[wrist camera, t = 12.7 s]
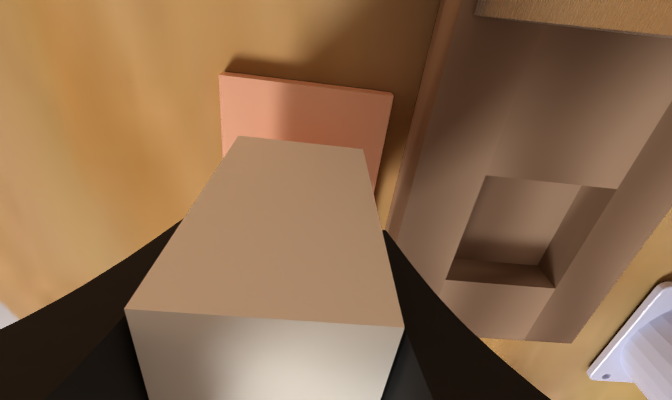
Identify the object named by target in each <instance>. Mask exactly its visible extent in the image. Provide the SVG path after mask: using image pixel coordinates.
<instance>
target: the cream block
mask: <svg viewBox="0 0 672 400" xmlns="http://www.w3.org/2000/svg"><path fill="white" fill-rule="evenodd" d="M124 310H125V314H126V318H127V321H128V325H129V329H130V332H131V336H132V340H133V343H134V347H135V350H136V354H137V358H138V361H139V365H140V369H141V372H142V376H143V379H144V383H145V387H146V390H147V394H148V398H149V400H381V397H382V394H383V391H384V388H385V385H386V382H387V379H388V376H389V373H390V370H391V367H392V364H393V361H394V358H395V355H396V352H397V349H398V346H399V343H400V340H401V337H402V334H403V331H404V328H405V327H404V322H403V318H402V314H401V310H400V305H399V301H398V297H397V292H396V288H395V284H394V280H393V275H392V271H391V267H390V262H389V258H388V254H387V250H386V245H385V241H384V237H383V232H382V228H381V224H380V220H379V215H378V211H377V207H376V202H375V198H374V194H373V190H372V185H371V181H370V177H369V172H368V168H367V164H366V160H365V155H364V151H363V149H358V148H349V147H340V146H331V145H321V144H312V143H303V142H294V141H285V140H276V139H266V138H257V137H248V136H238V137H237V139H236V140H235V142H234V143H233V145H232V146H231V148H230V149H229V151H228V152H227V154H226V155H225V157H224V158H223V160H222V161H221V163H220V164H219V166H218V167H217V169H216V170H215V172H214V173H213V175H212V176H211V178H210V179H209V181H208V182H207V184H206V185H205V187H204V189H203V190H202V192H201V193H200V195H199V196H198V198H197V199H196V201H195V202H194V204H193V205H192V207H191V208H190V210H189V211H188V213H187V214H186V216H185V217H184V219H183V220H182V222H181V223H180V225H179V226H178V228H177V229H176V231H175V232H174V234H173V235H172V237H171V238H170V240H169V241H168V243H167V245H166V246H165V248H164V249H163V251H162V252H161V254H160V255H159V257H158V258H157V260H156V261H155V263H154V264H153V266H152V267H151V269H150V270H149V272H148V273H147V275H146V276H145V278H144V279H143V281H142V282H141V284H140V285H139V287H138V288H137V290H136V291H135V293H134V294H133V296H132V298H131V299H130V301H129V302H128V304H127V305H126V307H125V308H124Z"/></svg>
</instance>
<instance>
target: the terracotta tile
mask: <svg viewBox="0 0 672 400" xmlns="http://www.w3.org/2000/svg"><path fill="white" fill-rule="evenodd" d="M219 89H220V110H221V130H222V151H223V158H224V157H225V155H226V154H227V152H228V151H229V149H230V148H231V146H232V145H233V143H234V142H235V140H236V139H237V137H238V136H248V137H257V138H266V139H276V140H285V141H294V142H303V143H312V144H321V145H331V146H340V147H349V148H358V149H363V151H364V155H365V160H366V164H367V168H368V172H369V177H370V181H371V185H372V190H373V194H374V189H375V184H376V180H377V175H378V170H379V165H380V160H381V156H382V151H383V146H384V141H385V136H386V131H387V127H388V122H389V117H390V112H391V107H392V102H393V98H394V96H393V94H392V93H391V92H385V91H377V90H369V89H361V88H353V87H345V86H337V85H329V84H321V83H313V82H304V81H296V80H288V79H280V78H272V77H264V76H256V75H248V74H240V73H232V72H222V73H221V74H219Z"/></svg>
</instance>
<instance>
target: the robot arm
mask: <svg viewBox="0 0 672 400" xmlns="http://www.w3.org/2000/svg"><path fill="white" fill-rule="evenodd" d="M182 220H183V219H182ZM182 220H181V221H179V222H178V223H176V224H175V225H174V226H172V227H171V228H169V229H168V230H167V231H165V232H164V233H162V234H161V235H160V236H158V237H157V238H155V239H154V240H152V241H151V242H150V243H148V244H147V245H145V246H144V247H142V248H141V249H139V250H138V251H137V252H135V253H134V254H132V255H131V256H129V257H128V258H126V259H125V260H123V261H121V262H120V263H118V264H117V265H115V266H113V267H112V268H110V269H109V270H107V271H106V272H104V273H102V274H101V275H99V276H98V277H96V278H94V279H93V280H91V281H90V282H88V283H86V284H85V285H83V286H81V287H80V288H78V289H76V290H75V291H73V292H71V293H69V294H67V295H66V296H64V297H62V298H60V299H59V300H57V301H55V302H53V303H51V304H49V305H47V306H45V307H44V308H42V309H40V310H38V311H36V312H34V313H32V314H30V315H29V316H27V317H25V318H23V319H21V320H19V321H17V322H15V323H13V324H11V325H9V326H6V327H4V328H2V329H0V400H149V398H148V394H147V390H146V387H145V383H144V379H143V376H142V372H141V369H140V365H139V361H138V358H137V354H136V350H135V347H134V343H133V340H132V336H131V332H130V329H129V325H128V321H127V318H126V314H125V310H124V308H125V307H126V305H127V304H128V302H129V301H130V299H131V298H132V296H133V294H134V293H135V291H136V290H137V288H138V287H139V285H140V284H141V282H142V281H143V279H144V278H145V276H146V275H147V273H148V272H149V270H150V269H151V267H152V266H153V264H154V263H155V261H156V260H157V258H158V257H159V255H160V254H161V252H162V251H163V249H164V248H165V246H166V245H167V243H168V241H169V240H170V238H171V237H172V235H173V234H174V232H175V231H176V229H177V228H178V226H179V225H180V223H181V222H182ZM382 232H383V237H384V241H385V245H386V250H387V254H388V258H389V262H390V267H391V271H392V275H393V280H394V284H395V288H396V292H397V297H398V301H399V305H400V310H401V314H402V318H403V322H404V327H405V328H404V331H403V334H402V337H401V340H400V343H399V346H398V349H397V352H396V355H395V358H394V361H393V364H392V367H391V370H390V373H389V376H388V379H387V382H386V385H385V388H384V391H383V394H382V397H381V400H551V399H549V398H548V397H547V396H545V395H544V394H543V393H542V392H540V391H539V390H538V389H537V388H535V387H534V386H533V385H532V384H531V383H529V382H528V381H527V380H526V379H525V378H523V377H522V376H521V375H520V374H519V373H517V372H516V371H515V370H514V369H513V368H511V367H510V366H509V365H508V364H507V363H506V362H504V361H503V360H502V359H501V358H500V357H499V356H498V355H496V354H495V353H494V352H493V351H492V350H491V349H490V348H489V347H488V346H487V345H486V344H484V343H483V342H482V341H481V340H480V339H479V338H478V337H477V336H476V335H475V334H474V333H473V332H472V331H471V330H470V329H469V328H468V327H467V326H466V325H465V324H464V323H463V322H462V321H461V320H460V319H459V318H458V317H457V316H456V315H455V314H454V313H453V312H452V311H451V310H450V309H449V308H448V307H447V305H446V304H445V303H444V302H443V301H442V300H441V299H440V298H439V297H438V296H437V294H436V293H435V292H434V291H433V290H432V289H431V288H430V286H429V285H428V284H427V283H426V281H425V280H424V279H423V278H422V277H421V275H420V274H419V273H418V272H417V270H416V269H415V268H414V267H413V265H412V264H411V263H410V261H409V260H408V259H407V257H406V256H405V255H404V254H403V252H402V251H401V249H400V248H399V247H398V245H397V244H396V243H395V241H394V240H393V239H392V237H391V236H390V235H389V234H388V232H387V231H386V230H382ZM587 374H588V376H589V377H590V379H592V380H599V381H616V382H634V383H635V384H636V385H637V387H638V388H639V389H640V390H641V392H642V393H643V394H644V395H645V397H646V398H647V399H648V400H672V282H663V283H660V284H658V285H657V286H656V287H655V288H654V289H653V291H652V292H651V293H650V294H649V295H648V297H647V298H646V299H645V300H644V302H643V303H642V304H641V305H640V306H639V308H638V309H637V310H636V311H635V312H634V314H633V315H632V316H631V317H630V319H629V320H628V321H627V322H626V323H625V325H624V326H623V327H622V328H621V330H620V331H619V332H618V333H617V334H616V336H615V337H614V338H613V339H612V341H611V342H610V343H609V344H608V345H607V347H606V348H605V349H604V350H603V351H602V353H601V354H600V355H599V356H598V358H597V359H596V360H595V361H594V362H593V364H592V365H591V366H590V367H589V369H588V370H587Z"/></svg>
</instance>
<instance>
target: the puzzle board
mask: <svg viewBox="0 0 672 400" xmlns="http://www.w3.org/2000/svg"><path fill="white" fill-rule="evenodd" d="M477 2H478V0H441V1H440V5H439V9H438V13H437V18H436V22H435V26H434V30H433V34H432V38H431V42H430V46H429V51H428V55H427V59H426V63H425V67H424V71H423V75H422V80H421V84H420V88H419V92H418V96H417V100H416V104H415V109H414V113H413V117H412V121H411V125H410V129H409V133H408V138H407V142H406V146H405V150H404V154H403V158H402V162H401V166H400V171H399V175H398V179H397V183H396V187H395V191H394V195H393V200H392V204H391V208H390V212H389V216H388V220H387V224H386V229H385V230H386V231H387V232H388V234H389V235H390V236H391V237H392V239H393V240H394V241H395V243H396V244H397V245H398V247H399V248H400V249H401V251H402V252H403V254H404V255H405V256H406V257H407V259H408V260H409V261H410V263H411V264H412V265H413V267H414V268H415V269H416V270H417V272H418V273H419V274H420V275H421V277H422V278H423V279H424V280H425V281H426V283H427V284H428V285H429V286H430V288H431V289H432V290H433V291H434V292H435V293H436V294H437V296H438V297H439V298H440V299H441V300H442V301H443V302H444V303H445V304H446V305H447V307H448V308H449V309H450V310H451V311H452V312H453V313H454V314H455V315H456V316H457V317H458V318H459V319H460V320H461V321H462V322H463V323H464V324H465V325H466V326H467V327H468V328H469V329H470V330H471V331H472V332H473V333H474V334H475V335H476V336H477V337H479V338H495V339H510V340H525V341H540V342H556V343H572V342H573V340H574V339H575V338H576V336H577V335H578V334H579V332H580V331H581V330H582V328H583V327H584V325H585V324H586V323H587V321H588V320H589V319H590V317H591V316H592V315H593V313H594V312H595V310H596V309H597V308H598V306H599V305H600V304H601V302H602V301H603V300H604V298H605V297H606V295H607V294H608V293H609V291H610V290H611V289H612V287H613V286H614V285H615V283H616V282H617V280H618V279H619V278H620V276H621V275H622V274H623V272H624V271H625V270H626V268H627V267H628V265H629V264H630V263H631V261H632V260H633V259H634V257H635V256H636V255H637V253H638V252H639V250H640V249H641V248H642V246H643V245H644V244H645V242H646V241H647V240H648V238H649V237H650V235H651V234H652V233H653V231H654V230H655V229H656V227H657V226H658V225H659V223H660V222H661V220H662V219H663V218H664V216H665V215H666V214H667V212H668V211H669V210H670V208H671V207H672V39H669V38H661V37H652V36H643V35H634V34H626V33H617V32H608V31H599V30H590V29H582V28H573V27H564V26H555V25H546V24H538V23H529V22H520V21H512V20H505V19H498V18H492V17H485V16H478V15H474V12H475V9H476V5H477Z"/></svg>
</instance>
